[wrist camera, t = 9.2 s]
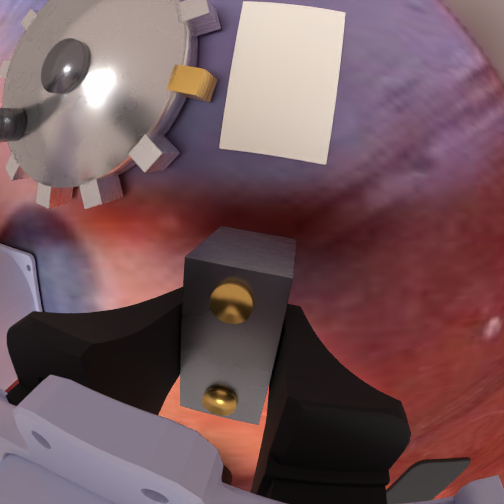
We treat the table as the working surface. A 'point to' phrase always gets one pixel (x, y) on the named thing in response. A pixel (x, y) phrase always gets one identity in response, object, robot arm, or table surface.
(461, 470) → the phone
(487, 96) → the table surface
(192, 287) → the gray knob block
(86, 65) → the sprocket
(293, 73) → the pad
